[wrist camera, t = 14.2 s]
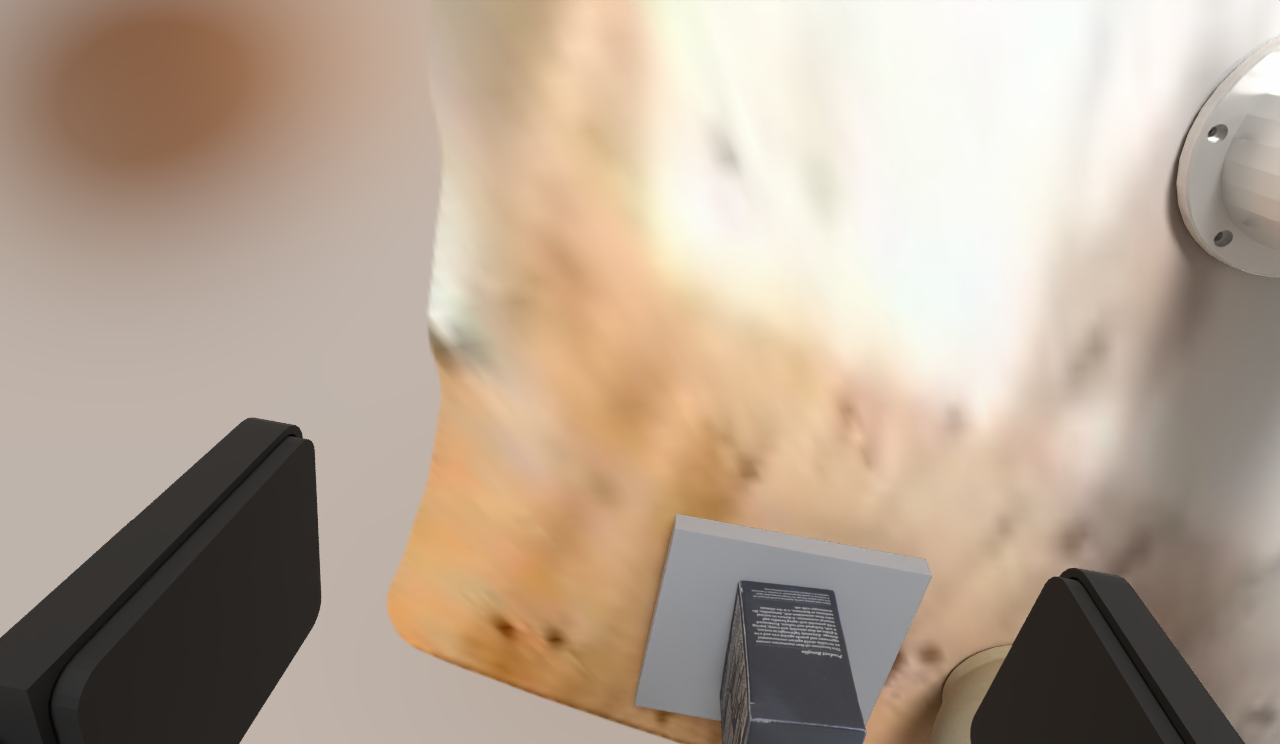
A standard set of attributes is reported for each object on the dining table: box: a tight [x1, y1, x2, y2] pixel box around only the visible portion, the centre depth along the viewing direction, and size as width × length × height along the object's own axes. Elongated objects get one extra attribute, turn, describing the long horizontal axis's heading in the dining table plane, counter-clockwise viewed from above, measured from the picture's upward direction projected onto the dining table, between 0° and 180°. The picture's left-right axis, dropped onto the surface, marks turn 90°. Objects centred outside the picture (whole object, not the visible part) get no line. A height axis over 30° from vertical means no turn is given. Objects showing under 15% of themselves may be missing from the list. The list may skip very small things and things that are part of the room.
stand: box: [634, 514, 932, 726], centre depth 51 cm, size 16×16×4 cm
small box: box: [720, 580, 867, 744], centre depth 44 cm, size 11×6×10 cm, turn 176°
